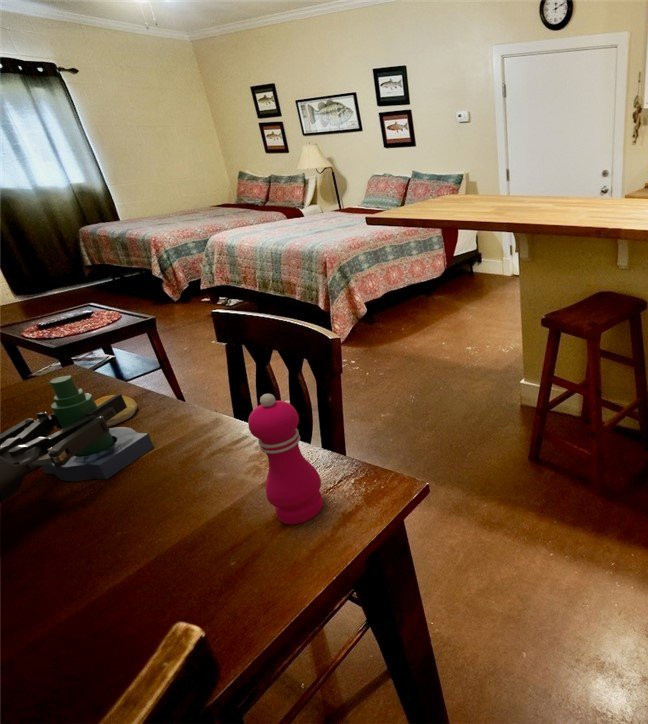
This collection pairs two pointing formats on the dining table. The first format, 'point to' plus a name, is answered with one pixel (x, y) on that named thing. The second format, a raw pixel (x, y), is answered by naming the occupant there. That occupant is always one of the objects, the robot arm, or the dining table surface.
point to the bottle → (76, 411)
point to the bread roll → (123, 414)
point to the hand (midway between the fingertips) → (105, 401)
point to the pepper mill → (285, 462)
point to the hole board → (104, 457)
